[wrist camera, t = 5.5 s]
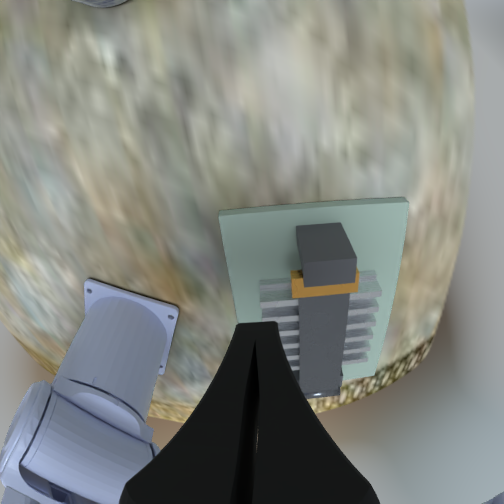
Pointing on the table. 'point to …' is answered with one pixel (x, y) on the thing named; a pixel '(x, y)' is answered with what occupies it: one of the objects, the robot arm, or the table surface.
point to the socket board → (317, 254)
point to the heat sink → (358, 323)
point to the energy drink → (101, 2)
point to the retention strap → (321, 334)
